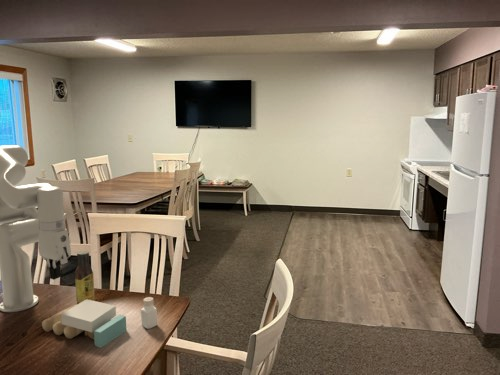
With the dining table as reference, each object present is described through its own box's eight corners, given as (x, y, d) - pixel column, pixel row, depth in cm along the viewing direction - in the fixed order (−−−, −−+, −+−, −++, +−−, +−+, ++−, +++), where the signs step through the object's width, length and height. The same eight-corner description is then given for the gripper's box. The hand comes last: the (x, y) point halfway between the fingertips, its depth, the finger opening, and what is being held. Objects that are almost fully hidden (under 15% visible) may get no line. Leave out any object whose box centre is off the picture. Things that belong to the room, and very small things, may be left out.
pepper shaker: (147, 330, 129) (146, 303, 127) (141, 325, 132) (139, 299, 130) (158, 325, 132) (156, 298, 130) (151, 321, 135) (150, 295, 133)
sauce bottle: (88, 308, 144) (84, 256, 140) (73, 306, 145) (68, 255, 142) (98, 300, 150) (95, 250, 147) (84, 299, 151) (80, 249, 148)
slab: (61, 324, 125) (61, 313, 124) (87, 308, 135) (86, 299, 134) (92, 332, 121) (91, 321, 120) (115, 315, 131) (115, 306, 130)
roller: (93, 341, 124) (98, 334, 123) (85, 332, 125) (91, 325, 123) (108, 330, 130) (114, 323, 129) (101, 321, 131) (106, 315, 130)
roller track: (42, 330, 129) (41, 319, 128) (72, 314, 140) (71, 303, 139) (92, 346, 120) (91, 334, 119) (120, 327, 131) (119, 316, 130)
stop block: (95, 345, 120) (93, 330, 119) (120, 328, 130) (119, 314, 129) (101, 347, 119) (100, 332, 118) (126, 330, 129) (125, 316, 128)
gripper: (78, 225, 128) (81, 278, 132) (46, 218, 134) (49, 269, 138) (58, 231, 121) (62, 286, 125) (25, 224, 127) (30, 277, 131)
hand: (55, 277), depth 131 cm, fingers closed
